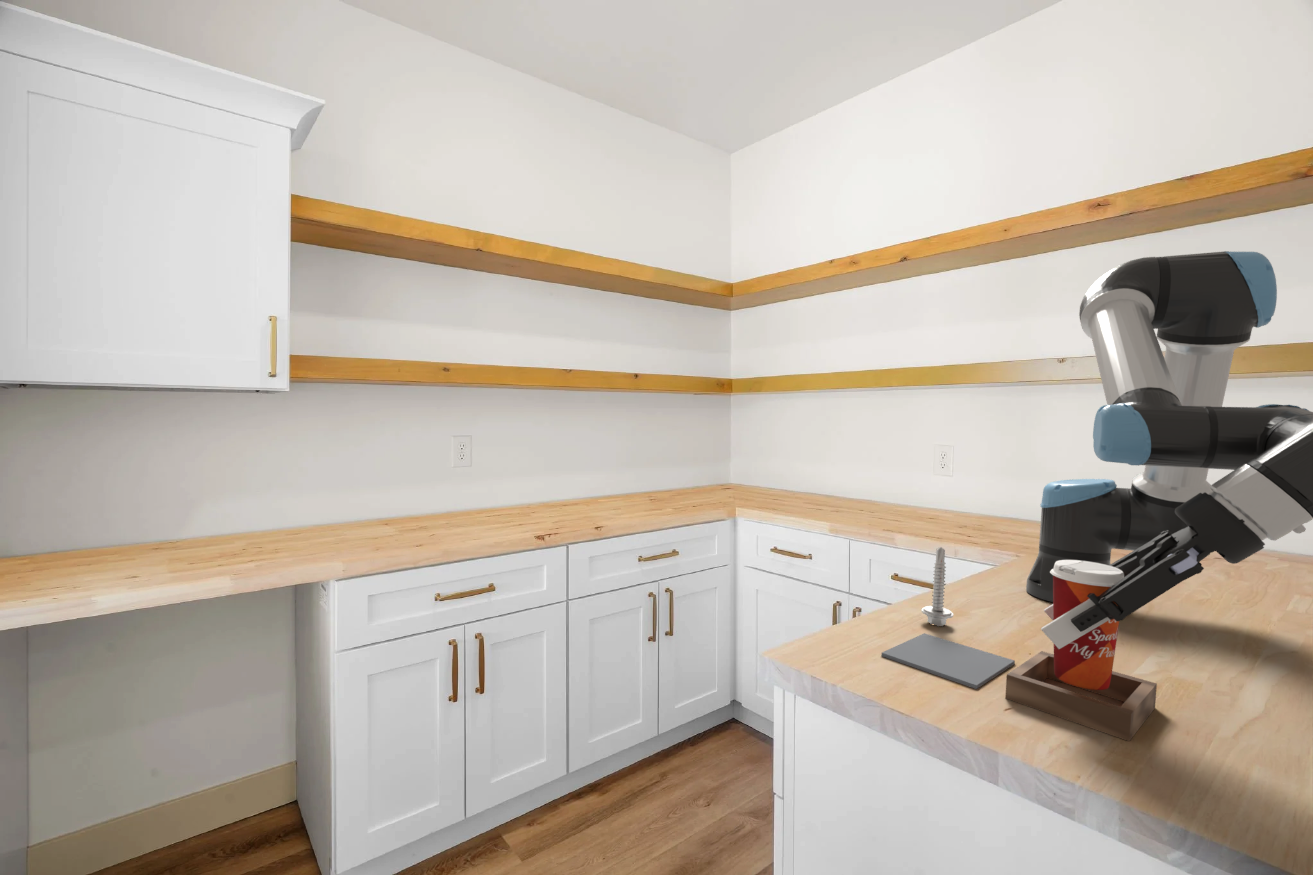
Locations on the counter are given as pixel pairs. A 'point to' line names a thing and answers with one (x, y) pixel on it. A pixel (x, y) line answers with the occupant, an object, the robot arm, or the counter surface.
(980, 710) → the counter surface
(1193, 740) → the counter surface
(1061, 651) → the paper cup
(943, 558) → the screw
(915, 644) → the slate mat
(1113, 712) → the cup holder
